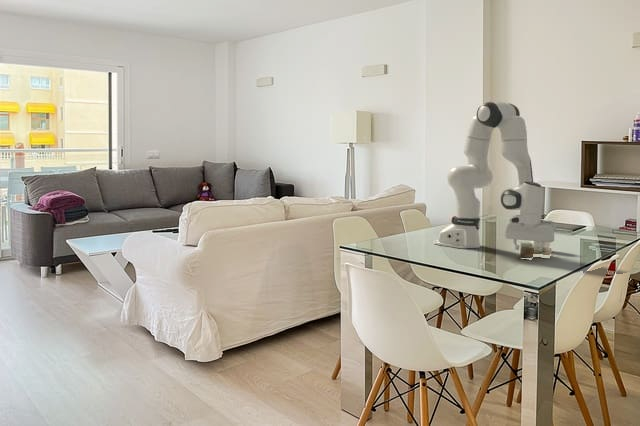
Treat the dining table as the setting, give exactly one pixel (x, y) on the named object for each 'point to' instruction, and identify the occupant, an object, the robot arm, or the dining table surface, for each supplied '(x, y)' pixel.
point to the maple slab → (544, 250)
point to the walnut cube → (526, 252)
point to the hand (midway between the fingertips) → (528, 250)
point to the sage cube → (525, 245)
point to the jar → (538, 244)
